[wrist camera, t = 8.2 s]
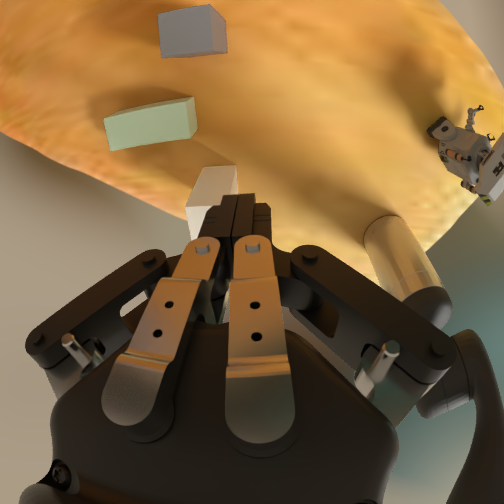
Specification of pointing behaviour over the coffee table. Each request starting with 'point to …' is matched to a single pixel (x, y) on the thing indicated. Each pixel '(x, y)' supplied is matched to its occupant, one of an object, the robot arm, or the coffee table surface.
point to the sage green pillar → (152, 123)
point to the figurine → (471, 156)
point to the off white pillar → (209, 193)
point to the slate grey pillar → (192, 32)
